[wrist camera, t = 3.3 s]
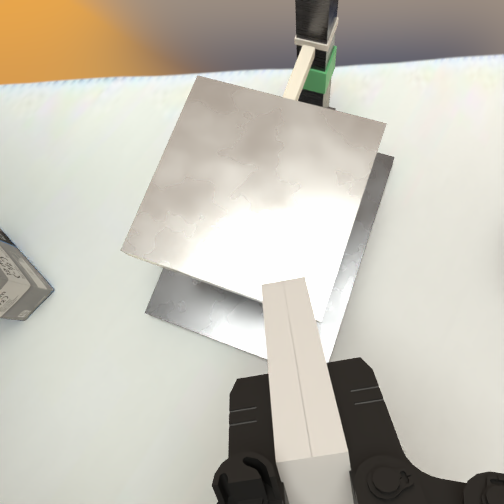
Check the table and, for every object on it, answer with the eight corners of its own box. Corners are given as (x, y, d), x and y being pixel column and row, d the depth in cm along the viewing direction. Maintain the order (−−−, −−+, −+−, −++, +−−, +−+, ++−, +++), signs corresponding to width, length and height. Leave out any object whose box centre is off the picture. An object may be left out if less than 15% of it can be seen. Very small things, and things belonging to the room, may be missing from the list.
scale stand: (148, 314, 36) (34, 277, 21) (241, 91, 41) (202, -76, 25) (322, 380, 33) (336, 393, 18) (401, 132, 38) (468, -29, 22)
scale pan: (158, 273, 32) (120, 250, 25) (236, 87, 35) (220, 23, 28) (317, 330, 29) (321, 321, 23) (385, 125, 32) (405, 65, 26)
